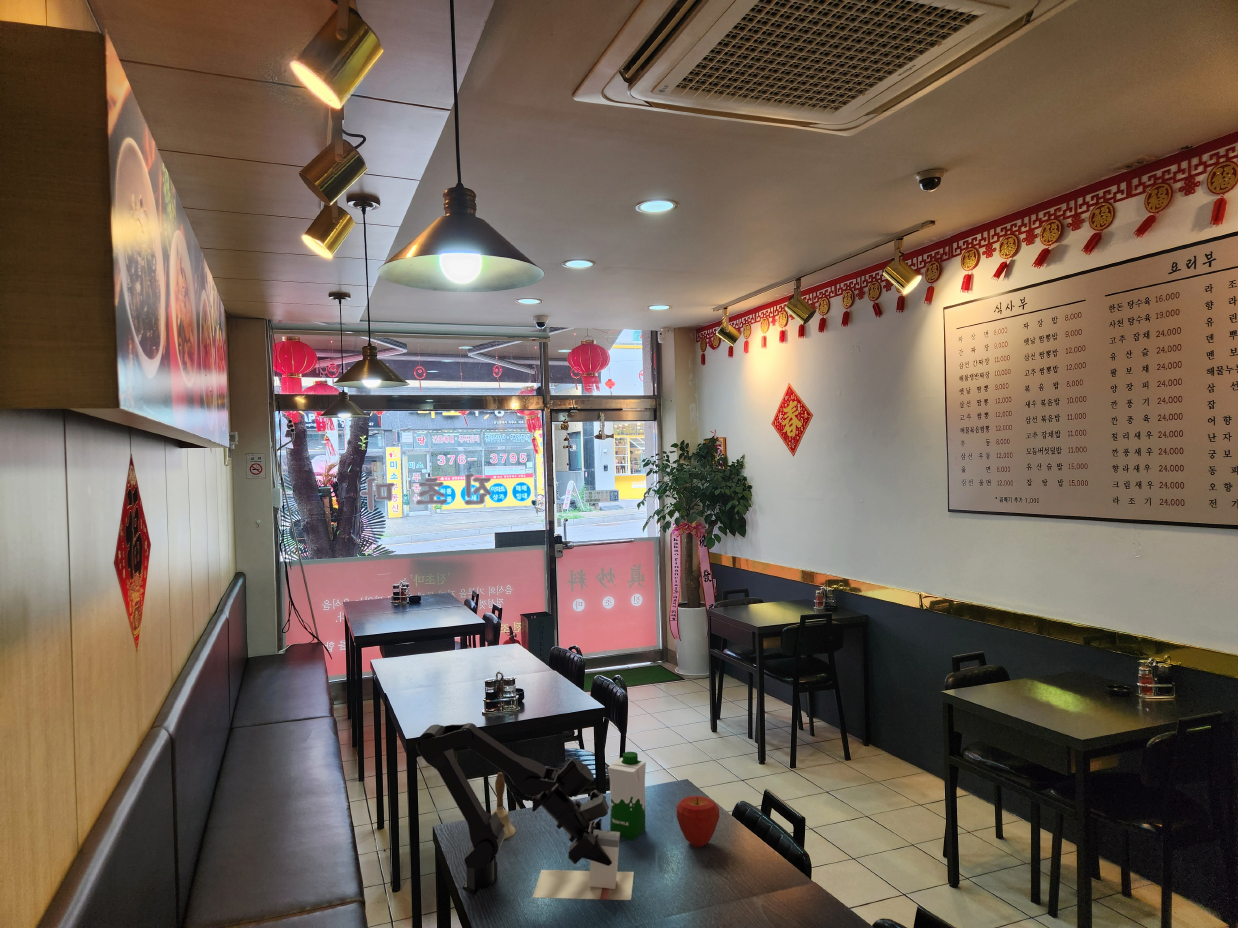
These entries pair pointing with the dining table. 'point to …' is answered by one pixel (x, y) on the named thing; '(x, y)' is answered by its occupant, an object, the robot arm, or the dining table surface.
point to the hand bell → (500, 811)
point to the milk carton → (627, 796)
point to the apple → (697, 819)
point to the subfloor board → (580, 886)
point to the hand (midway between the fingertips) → (611, 859)
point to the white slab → (600, 872)
